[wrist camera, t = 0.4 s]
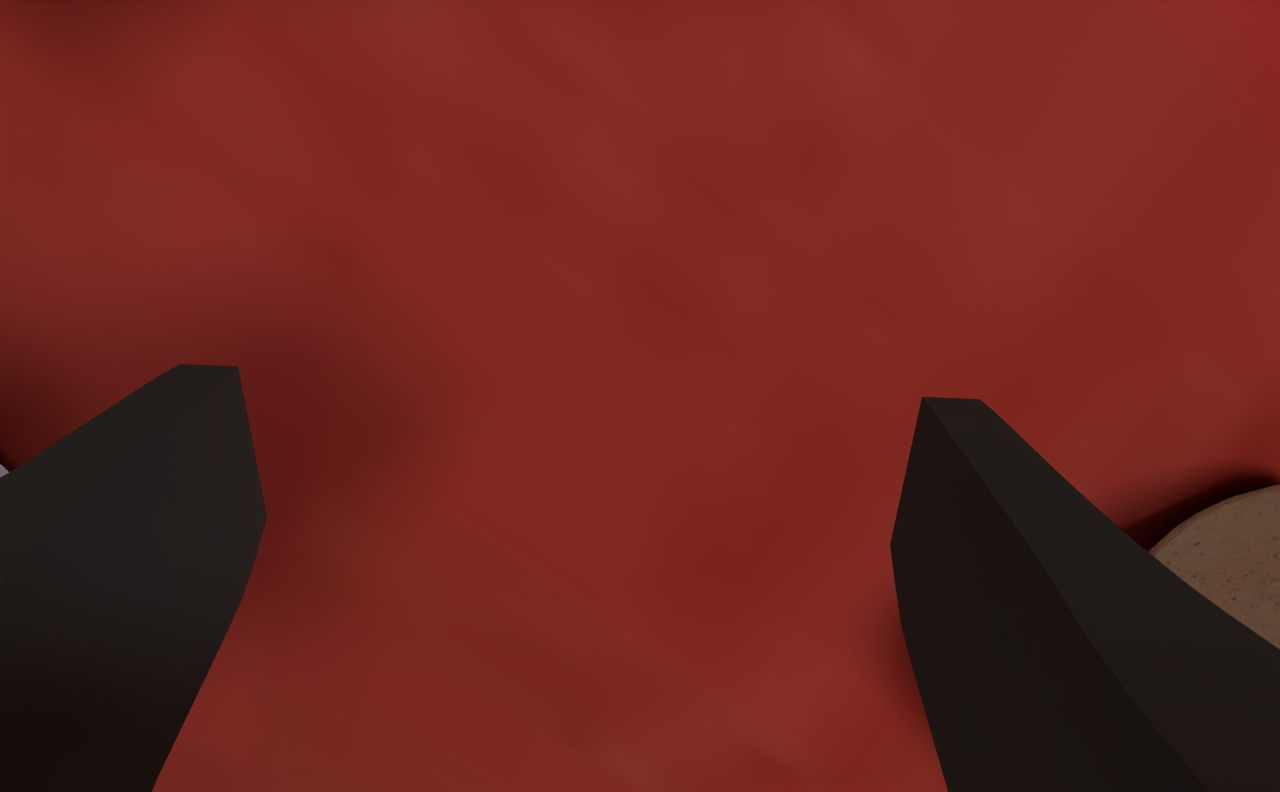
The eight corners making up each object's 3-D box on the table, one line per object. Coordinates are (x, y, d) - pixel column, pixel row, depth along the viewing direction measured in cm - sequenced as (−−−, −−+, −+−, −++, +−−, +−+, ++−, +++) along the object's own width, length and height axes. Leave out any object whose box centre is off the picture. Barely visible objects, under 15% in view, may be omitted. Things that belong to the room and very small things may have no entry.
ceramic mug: (1370, 400, 23) (1619, 682, 17) (1479, 625, 27) (1720, 928, 21) (924, 606, 27) (994, 898, 21) (1070, 779, 31) (1167, 1074, 25)
